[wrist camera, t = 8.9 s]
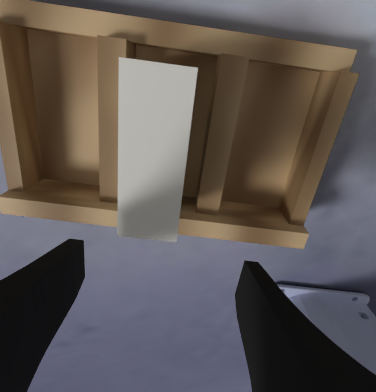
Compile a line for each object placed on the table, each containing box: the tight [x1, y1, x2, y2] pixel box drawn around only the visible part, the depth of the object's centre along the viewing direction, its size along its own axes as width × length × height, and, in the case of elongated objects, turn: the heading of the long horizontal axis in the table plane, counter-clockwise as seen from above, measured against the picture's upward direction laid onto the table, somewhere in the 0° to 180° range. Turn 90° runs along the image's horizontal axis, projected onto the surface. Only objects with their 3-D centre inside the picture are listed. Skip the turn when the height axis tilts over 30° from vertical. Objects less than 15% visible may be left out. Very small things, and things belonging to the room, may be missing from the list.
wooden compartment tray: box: [0, 0, 360, 249], centre depth 16 cm, size 20×12×5 cm, turn 83°
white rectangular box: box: [117, 57, 198, 242], centre depth 15 cm, size 3×8×7 cm, turn 173°
